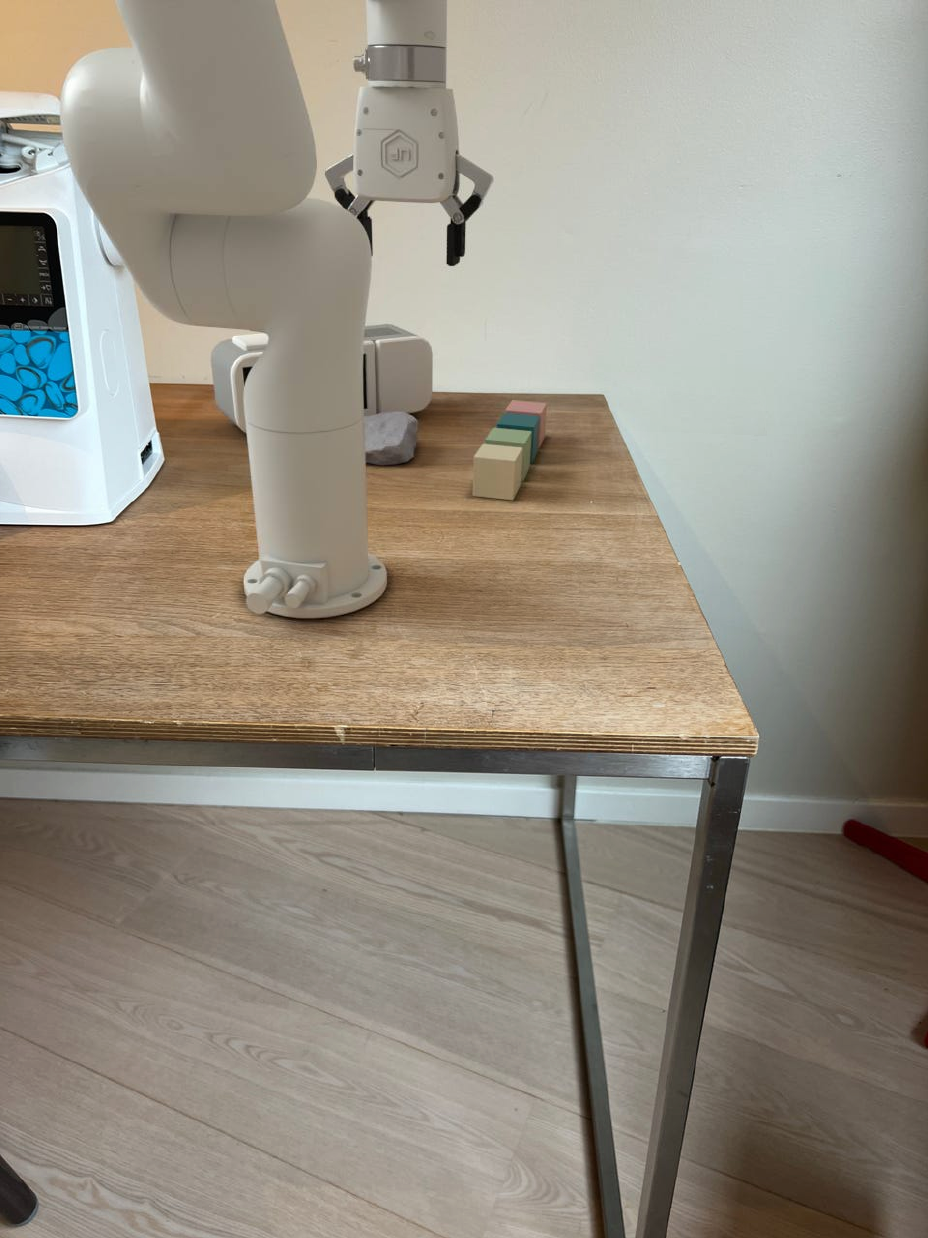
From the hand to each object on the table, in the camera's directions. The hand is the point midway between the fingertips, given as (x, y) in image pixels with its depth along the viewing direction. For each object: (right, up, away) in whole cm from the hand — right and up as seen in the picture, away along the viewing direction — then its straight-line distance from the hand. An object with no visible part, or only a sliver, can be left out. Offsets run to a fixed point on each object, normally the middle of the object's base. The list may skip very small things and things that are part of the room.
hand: (408, 261), depth 95 cm
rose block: (+14, -15, +22) cm, 30 cm away
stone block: (-6, -17, +17) cm, 25 cm away
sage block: (+11, -20, +12) cm, 26 cm away
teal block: (+12, -17, +17) cm, 27 cm away
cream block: (+10, -23, +7) cm, 26 cm away
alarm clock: (-13, -11, +27) cm, 32 cm away
